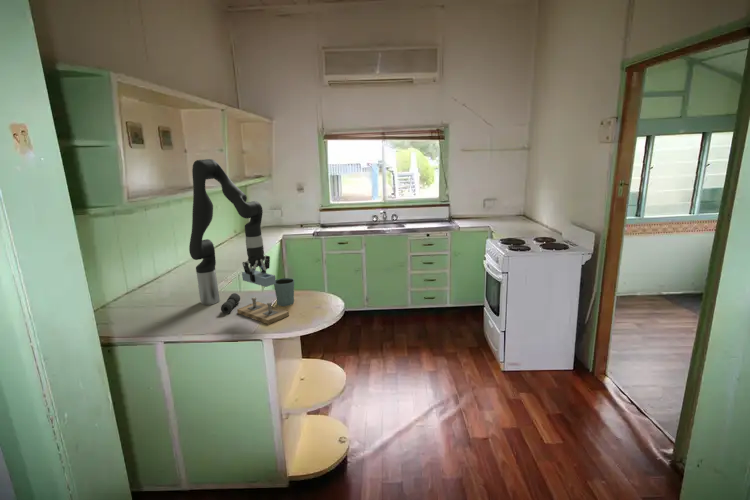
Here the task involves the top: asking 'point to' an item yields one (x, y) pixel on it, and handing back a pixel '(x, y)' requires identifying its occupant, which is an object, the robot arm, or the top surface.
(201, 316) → the top surface
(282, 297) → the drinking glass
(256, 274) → the blue-grey block with holes
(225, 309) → the flashlight
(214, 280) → the robot arm
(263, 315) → the mount board
